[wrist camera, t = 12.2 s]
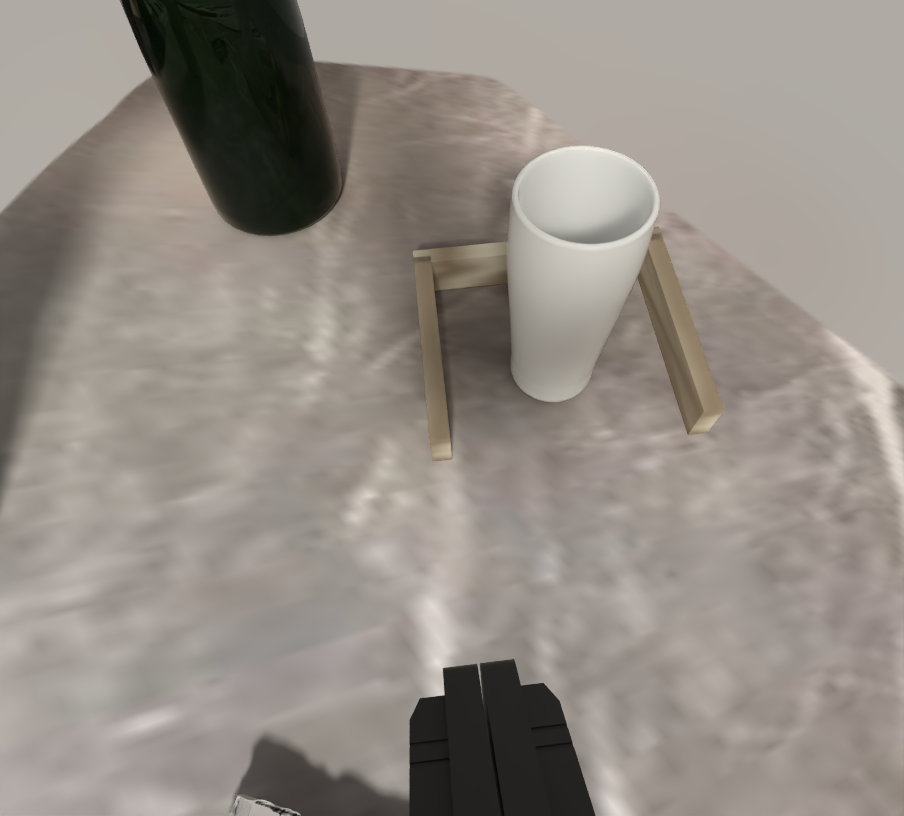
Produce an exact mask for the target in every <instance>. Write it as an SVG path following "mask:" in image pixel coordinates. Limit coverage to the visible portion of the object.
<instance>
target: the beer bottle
mask: <svg viewBox="0 0 904 816" xmlns="http://www.w3.org/2000/svg"><path fill="white" fill-rule="evenodd" d="M120 2H121V5H122V7H123V9H124V12H125V14H126V17H127V19H128V21H129V24H130V26H131V28H132V31H133V33H134V36H135V38H136V40H137V43H138V45H139V48H140V50H141V52H142V54H143V57H144V59H145V61H146V63H147V65H148V67H149V69H150V72H151V74H152V76H153V78H154V80H155V83H156V85H157V87H158V89H159V91H160V93H161V96H162V98H163V100H164V102H165V104H166V106H167V109H168V111H169V113H170V115H171V117H172V119H173V121H174V124H175V126H176V128H177V130H178V132H179V134H180V136H181V139H182V141H183V143H184V145H185V147H186V149H187V151H188V154H189V156H190V158H191V160H192V162H193V164H194V166H195V168H196V170H197V172H198V175H199V177H200V179H201V181H202V183H203V185H204V187H205V189H206V191H207V193H208V195H209V197H210V199H211V201H212V203H213V205H214V207H215V208H216V210H217V212H218V214H219V215H220V216H221V217H222V218H223V220H224V221H225V222H227V223H228V224H230V225H231V226H233V227H234V228H236V229H238V230H240V231H243V232H245V233H249V234H254V235H259V236H276V235H285V234H289V233H293V232H297V231H299V230H301V229H304V228H306V227H309V226H310V225H312V224H314V223H315V222H317V221H319V220H320V219H321V218H322V217H324V216H325V215H326V214H327V213H328V212H329V211H330V210H331V208H332V207H333V206H334V204H335V203H336V201H337V199H338V197H339V194H340V191H341V187H342V174H341V169H340V163H339V159H338V155H337V151H336V147H335V143H334V139H333V134H332V130H331V126H330V122H329V119H328V115H327V111H326V107H325V103H324V99H323V96H322V92H321V88H320V84H319V80H318V76H317V72H316V69H315V65H314V61H313V57H312V54H311V50H310V46H309V42H308V38H307V35H306V31H305V27H304V24H303V19H302V16H301V13H300V10H299V6H298V3H297V0H120Z"/></svg>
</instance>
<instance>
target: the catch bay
mask: <svg viewBox="0 0 904 816" xmlns="http://www.w3.org/2000/svg"><path fill="white" fill-rule="evenodd" d="M413 259H414V271H415V282H416V293H417V304H418V316H419V327H420V338H421V350H422V361H423V372H424V383H425V395H426V406H427V417H428V428H429V440H430V446H431V453H432V459H433V461H438V460H448V459H452V452H451V441H450V431H449V422H448V412H447V403H446V394H445V384H444V375H443V366H442V356H441V347H440V338H439V328H438V319H437V310H436V300H435V291H436V290H446V289H456V288H466V287H476V286H487V285H497V284H507V283H508V278H507V242H497V243H487V244H477V245H466V246H456V247H446V248H436V249H426V250H415V251H413ZM638 279H639V283H640V286H641V289H642V292H643V295H644V298H645V301H646V304H647V308H648V311H649V314H650V317H651V320H652V323H653V326H654V330H655V333H656V336H657V339H658V342H659V345H660V348H661V351H662V355H663V358H664V361H665V364H666V367H667V370H668V373H669V376H670V380H671V383H672V386H673V389H674V392H675V395H676V398H677V402H678V405H679V408H680V411H681V414H682V417H683V420H684V423H685V427H686V430H687V433H688V434H698V433H707V432H708V431H709V429H710V428H711V427H712V425H713V424H714V423H715V421H716V420H717V419H718V417H719V416H720V415H721V413H722V412H723V411H724V407H723V404H722V401H721V399H720V396H719V393H718V390H717V388H716V385H715V382H714V379H713V376H712V374H711V371H710V368H709V365H708V363H707V360H706V357H705V354H704V351H703V349H702V346H701V343H700V340H699V338H698V335H697V332H696V329H695V326H694V324H693V321H692V318H691V315H690V313H689V310H688V307H687V304H686V301H685V299H684V296H683V293H682V290H681V288H680V285H679V282H678V279H677V276H676V274H675V271H674V268H673V265H672V263H671V260H670V257H669V254H668V251H667V249H666V246H665V243H664V240H663V238H662V235H661V232H660V229H659V227H654V230H653V234H652V237H651V241H650V244H649V247H648V250H647V253H646V256H645V259H644V262H643V264H642V267H641V270H640V272H639V275H638Z"/></svg>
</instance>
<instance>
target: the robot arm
mask: <svg viewBox="0 0 904 816" xmlns="http://www.w3.org/2000/svg"><path fill="white" fill-rule="evenodd" d="M480 672H481V683H482V692H481V686H480V679H479V673H478V666H477V664H472V665H464V666H456V667H448V668H443V676H444V690H445V695H444V696H436V697H428V698H420V700H419V702H418V704H417V706H416V708H415V710H414V712H413V714H412V716H411V718H410V816H595V813H594V810H593V807H592V803H591V800H590V797H589V794H588V791H587V787H586V784H585V781H584V778H583V775H582V771H581V768H580V765H579V762H578V759H577V755H576V752H575V749H574V747H573V744H572V739H571V736H570V733H569V730H568V728H567V723H566V720H565V717H564V714H563V711H562V707H561V704H560V701H559V700H558V699H557V698H556V696H555V695H554V694H553V693H552V692H551V691H550V690H549V689H548V688H547V686H546V685H545V684H544V683H539V684H531V685H523V686H521V685H520V680H519V676H518V672H517V668H516V664H515V661H514V659H512V660H503V661H495V662H487V663H480ZM482 694H483V699H482ZM483 704H484V706H483Z"/></svg>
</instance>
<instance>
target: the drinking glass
mask: <svg viewBox="0 0 904 816" xmlns="http://www.w3.org/2000/svg"><path fill="white" fill-rule="evenodd" d="M659 208H660V196H659V192H658V188H657V185H656V183H655V181H654V180H653V178H652V177H651V175H650V174H649V173H648V172H647V171H646V170H645V169H644V168H643V167H642V166H641V165H640V164H639V163H637V162H636V161H634V160H633V159H631V158H629V157H628V156H626V155H623V154H621V153H619V152H616V151H613V150H610V149H606V148H602V147H596V146H567V147H562V148H557V149H554V150H551V151H548V152H546V153H543V154H541V155H539V156H537V157H536V158H534V159H533V160H531V161H530V162H529V163H528V164H527V165H525V166H524V167H523V169H522V170H521V171H520V172H519V174H518V176H517V177H516V179H515V182H514V185H513V189H512V197H511V204H510V212H509V221H508V233H507V278H508V294H509V311H510V329H511V363H510V365H511V373H512V376H513V378H514V380H515V382H516V384H517V385H518V386H519V388H520V389H521V390H522V391H523V392H525V393H526V394H527V395H529V396H531V397H533V398H535V399H537V400H541V401H545V402H561V401H565V400H568V399H571V398H573V397H575V396H576V395H578V394H579V393H580V392H582V391H583V390H584V388H585V387H586V386H587V384H588V383H589V381H590V379H591V376H592V373H593V370H594V367H595V364H596V362H597V360H598V358H599V356H600V353H601V351H602V349H603V347H604V345H605V343H606V341H607V339H608V337H609V335H610V333H611V331H612V329H613V327H614V325H615V323H616V321H617V319H618V317H619V315H620V313H621V311H622V309H623V307H624V305H625V302H626V300H627V298H628V296H629V294H630V292H631V290H632V288H633V286H634V284H635V281H636V279H637V277H638V275H639V272H640V270H641V267H642V264H643V262H644V259H645V256H646V253H647V250H648V247H649V244H650V241H651V237H652V234H653V230H654V227H655V223H656V219H657V216H658V213H659Z"/></svg>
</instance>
